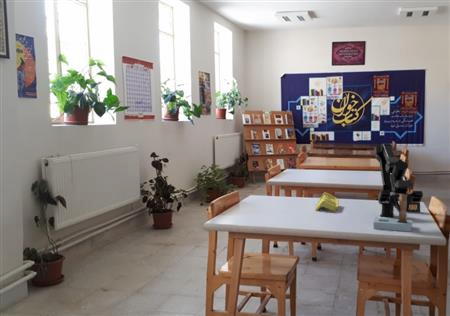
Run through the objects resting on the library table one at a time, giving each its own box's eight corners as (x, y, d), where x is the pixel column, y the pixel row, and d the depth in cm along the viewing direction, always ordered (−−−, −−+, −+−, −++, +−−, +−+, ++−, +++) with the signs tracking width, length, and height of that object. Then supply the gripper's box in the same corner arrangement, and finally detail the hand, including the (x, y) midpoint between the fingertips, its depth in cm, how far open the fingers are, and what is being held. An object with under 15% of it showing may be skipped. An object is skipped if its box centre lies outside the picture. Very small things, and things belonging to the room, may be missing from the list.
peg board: (375, 223, 231) (375, 217, 230) (411, 226, 225) (412, 220, 224) (373, 228, 222) (373, 222, 221) (411, 231, 216) (411, 224, 215)
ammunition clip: (398, 211, 259) (399, 189, 258) (398, 210, 261) (399, 188, 260) (420, 212, 257) (421, 189, 256) (419, 211, 259) (420, 189, 257)
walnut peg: (397, 224, 222) (397, 194, 221) (402, 224, 224) (403, 193, 222) (402, 226, 219) (403, 195, 218) (407, 225, 221) (408, 195, 219)
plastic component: (338, 207, 258) (321, 199, 260) (332, 219, 260) (314, 211, 262) (338, 198, 277) (322, 190, 279) (332, 209, 279) (316, 201, 281)
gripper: (380, 172, 224) (385, 201, 214) (422, 173, 222) (429, 201, 213) (376, 187, 233) (381, 215, 223) (416, 187, 231) (423, 215, 221)
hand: (403, 211), depth 220 cm, fingers closed on walnut peg, 3 cm apart
